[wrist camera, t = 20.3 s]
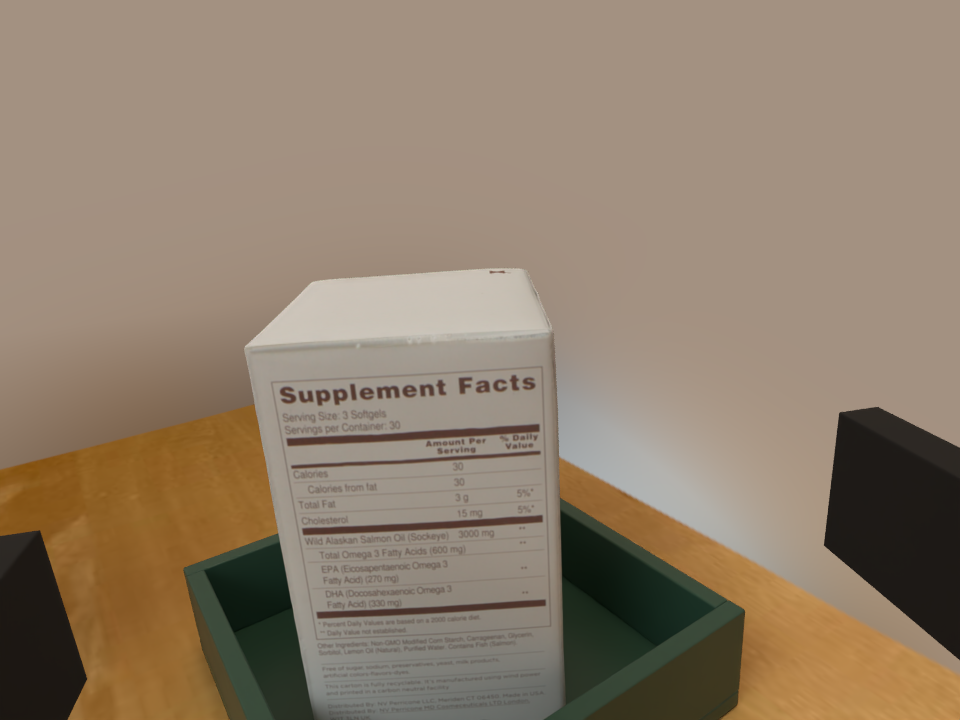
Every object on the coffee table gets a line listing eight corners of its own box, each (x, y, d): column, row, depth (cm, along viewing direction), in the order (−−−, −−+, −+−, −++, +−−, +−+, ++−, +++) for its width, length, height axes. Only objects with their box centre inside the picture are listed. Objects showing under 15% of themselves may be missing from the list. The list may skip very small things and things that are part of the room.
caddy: (738, 705, 21) (746, 609, 20) (343, 1012, 14) (321, 894, 13) (495, 524, 31) (490, 454, 30) (202, 650, 25) (182, 567, 23)
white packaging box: (355, 596, 26) (309, 276, 22) (545, 585, 26) (534, 262, 22) (311, 764, 19) (231, 341, 15) (571, 751, 19) (560, 321, 15)
